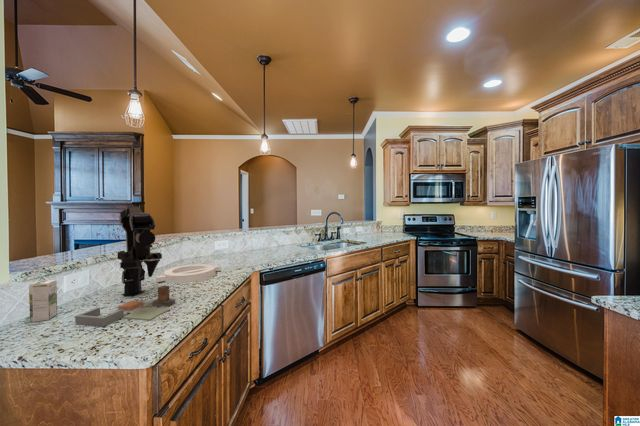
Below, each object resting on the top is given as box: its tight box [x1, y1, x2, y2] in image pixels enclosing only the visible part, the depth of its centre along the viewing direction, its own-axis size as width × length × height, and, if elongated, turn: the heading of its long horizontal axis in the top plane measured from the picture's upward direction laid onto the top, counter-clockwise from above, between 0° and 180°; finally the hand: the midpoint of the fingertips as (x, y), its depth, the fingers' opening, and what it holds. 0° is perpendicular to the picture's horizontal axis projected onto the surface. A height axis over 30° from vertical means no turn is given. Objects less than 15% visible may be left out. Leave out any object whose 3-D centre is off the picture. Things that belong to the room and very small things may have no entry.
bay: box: [74, 307, 125, 327], centre depth 101 cm, size 8×12×3 cm, turn 79°
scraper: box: [151, 285, 176, 308], centre depth 117 cm, size 4×8×8 cm, turn 79°
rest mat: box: [122, 306, 170, 321], centre depth 107 cm, size 10×12×1 cm
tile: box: [117, 300, 144, 311], centre depth 114 cm, size 6×6×2 cm
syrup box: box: [28, 279, 58, 323], centre depth 104 cm, size 6×6×14 cm
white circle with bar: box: [155, 263, 222, 284], centre depth 161 cm, size 28×28×5 cm
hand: (143, 279), depth 113 cm, fingers open, 9 cm apart
